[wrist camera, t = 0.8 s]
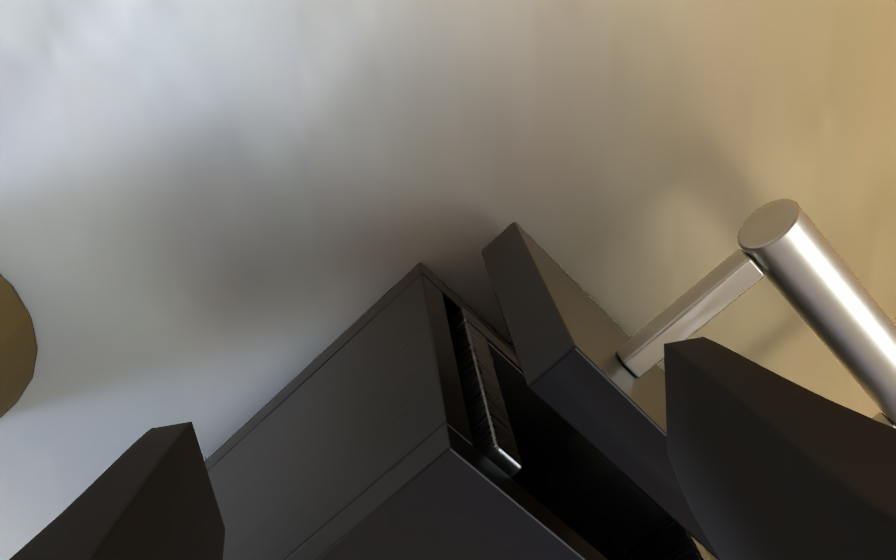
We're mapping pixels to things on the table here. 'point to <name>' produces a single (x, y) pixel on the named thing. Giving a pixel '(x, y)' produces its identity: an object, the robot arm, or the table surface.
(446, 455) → the cabinet
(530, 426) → the drawer
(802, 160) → the table surface
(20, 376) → the pawn figure
